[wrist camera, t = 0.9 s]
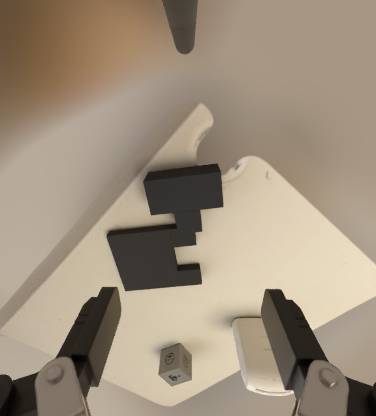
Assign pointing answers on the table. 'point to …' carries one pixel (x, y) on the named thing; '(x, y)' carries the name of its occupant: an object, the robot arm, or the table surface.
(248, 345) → the photo printer
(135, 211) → the table surface
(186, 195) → the black t-shaped block
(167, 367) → the dice cube
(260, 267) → the table surface
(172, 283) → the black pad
